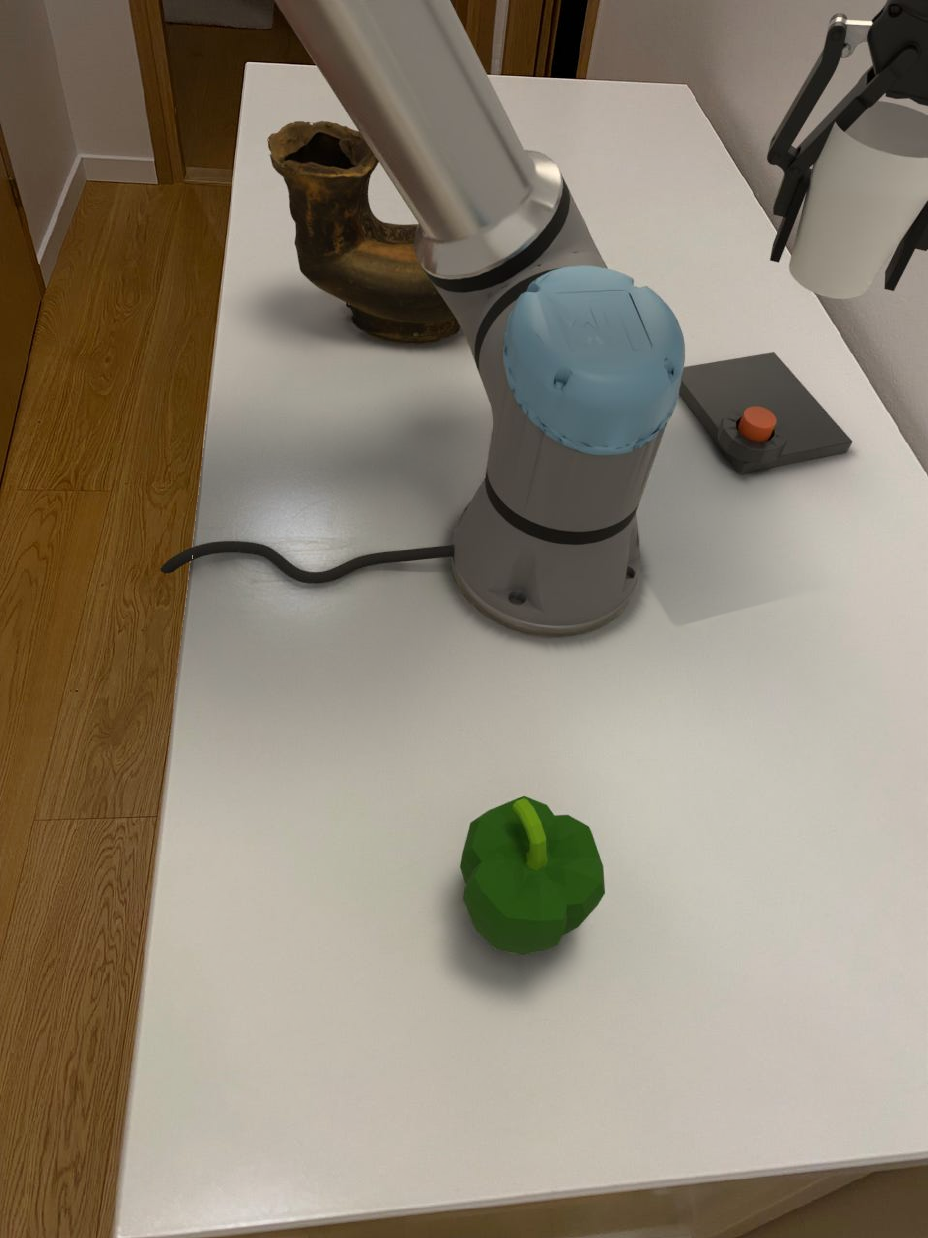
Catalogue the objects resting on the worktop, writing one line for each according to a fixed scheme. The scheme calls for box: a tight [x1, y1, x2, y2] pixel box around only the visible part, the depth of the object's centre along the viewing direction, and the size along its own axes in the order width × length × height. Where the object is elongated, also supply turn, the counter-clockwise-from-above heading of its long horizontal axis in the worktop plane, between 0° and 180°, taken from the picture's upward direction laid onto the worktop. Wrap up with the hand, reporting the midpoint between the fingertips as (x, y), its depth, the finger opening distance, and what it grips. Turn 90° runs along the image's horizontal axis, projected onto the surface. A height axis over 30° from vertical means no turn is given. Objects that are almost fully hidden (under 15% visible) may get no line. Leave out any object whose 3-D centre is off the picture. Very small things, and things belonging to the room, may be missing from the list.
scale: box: [679, 351, 853, 475], centre depth 91 cm, size 13×14×3 cm
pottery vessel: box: [266, 120, 461, 345], centre depth 89 cm, size 25×11×20 cm, turn 94°
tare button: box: [738, 407, 777, 442], centre depth 86 cm, size 3×3×2 cm
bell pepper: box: [459, 795, 606, 956], centre depth 56 cm, size 8×8×10 cm
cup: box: [788, 100, 928, 300], centre depth 73 cm, size 9×9×12 cm
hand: (832, 266), depth 77 cm, fingers closed on cup, 9 cm apart
